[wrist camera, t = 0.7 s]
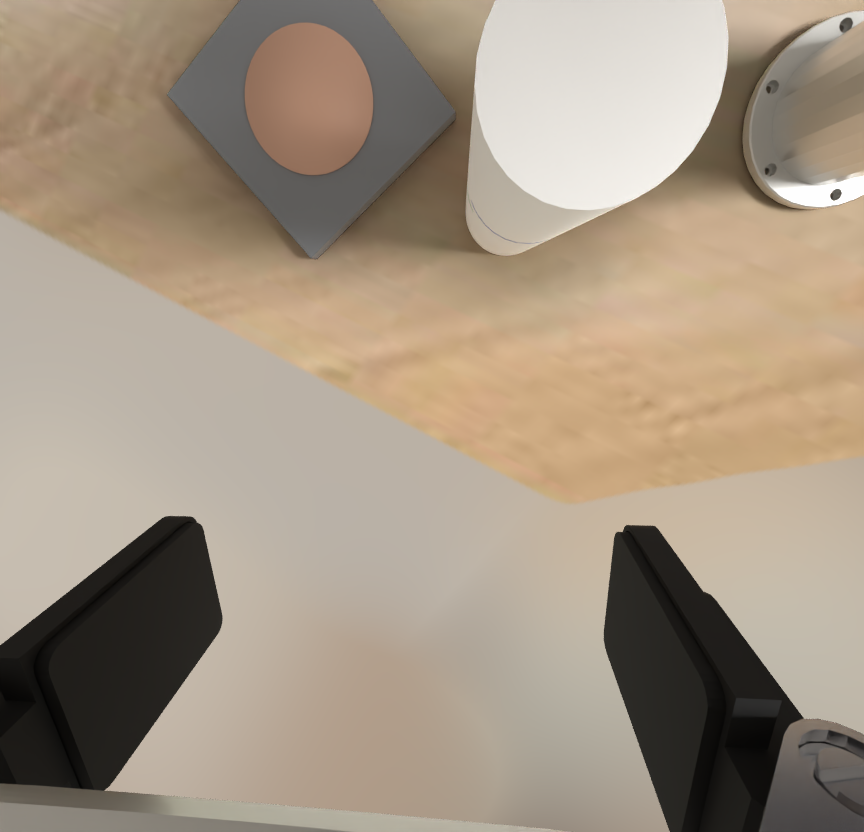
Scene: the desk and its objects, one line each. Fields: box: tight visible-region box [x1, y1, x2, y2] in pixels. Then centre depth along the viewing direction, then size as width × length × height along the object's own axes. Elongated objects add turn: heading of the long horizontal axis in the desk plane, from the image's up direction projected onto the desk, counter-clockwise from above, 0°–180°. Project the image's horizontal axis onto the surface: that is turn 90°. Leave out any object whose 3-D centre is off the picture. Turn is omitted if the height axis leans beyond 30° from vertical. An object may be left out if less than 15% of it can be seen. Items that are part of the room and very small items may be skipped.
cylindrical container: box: [465, 0, 728, 256], centre depth 25 cm, size 7×7×25 cm
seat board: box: [167, 0, 456, 259], centre depth 34 cm, size 16×16×2 cm
